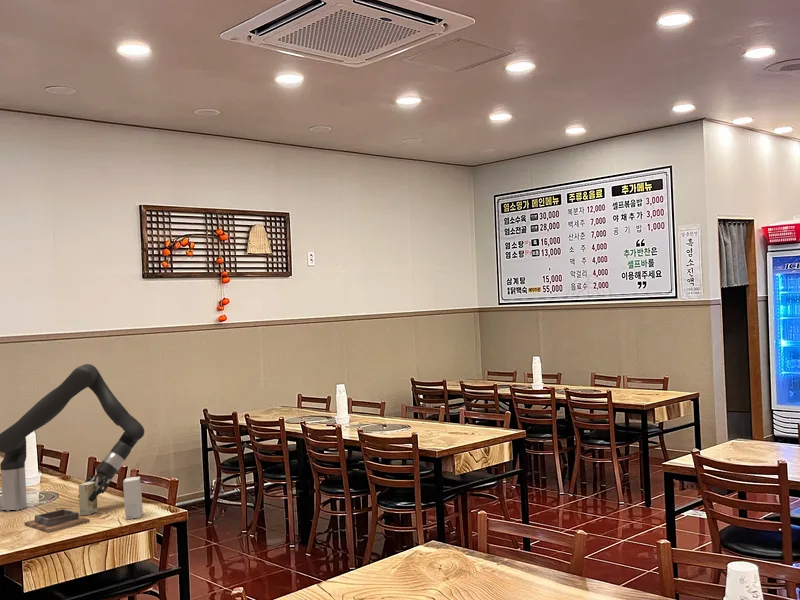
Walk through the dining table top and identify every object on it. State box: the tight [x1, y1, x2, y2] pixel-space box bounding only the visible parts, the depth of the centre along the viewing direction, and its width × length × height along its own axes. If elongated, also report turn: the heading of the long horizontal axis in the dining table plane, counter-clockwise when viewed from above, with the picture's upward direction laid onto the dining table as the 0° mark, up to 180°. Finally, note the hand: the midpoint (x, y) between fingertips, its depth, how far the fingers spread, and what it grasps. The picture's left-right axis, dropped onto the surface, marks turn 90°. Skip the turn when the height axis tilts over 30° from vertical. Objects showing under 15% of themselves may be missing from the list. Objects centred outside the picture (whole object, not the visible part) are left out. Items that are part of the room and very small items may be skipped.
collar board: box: [24, 508, 91, 534], centre depth 304 cm, size 20×16×4 cm
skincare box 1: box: [78, 482, 99, 516], centre depth 318 cm, size 6×4×12 cm
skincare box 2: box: [122, 476, 144, 520], centre depth 309 cm, size 8×6×15 cm
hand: (85, 499), depth 317 cm, fingers open, 8 cm apart
